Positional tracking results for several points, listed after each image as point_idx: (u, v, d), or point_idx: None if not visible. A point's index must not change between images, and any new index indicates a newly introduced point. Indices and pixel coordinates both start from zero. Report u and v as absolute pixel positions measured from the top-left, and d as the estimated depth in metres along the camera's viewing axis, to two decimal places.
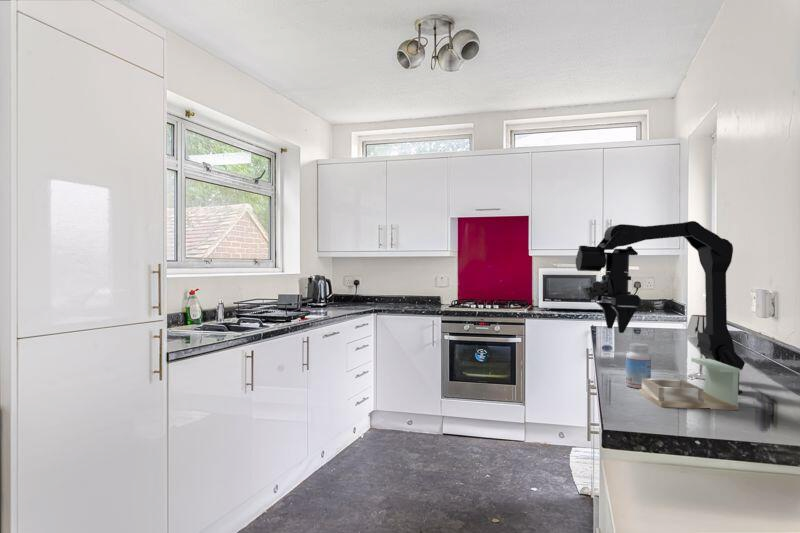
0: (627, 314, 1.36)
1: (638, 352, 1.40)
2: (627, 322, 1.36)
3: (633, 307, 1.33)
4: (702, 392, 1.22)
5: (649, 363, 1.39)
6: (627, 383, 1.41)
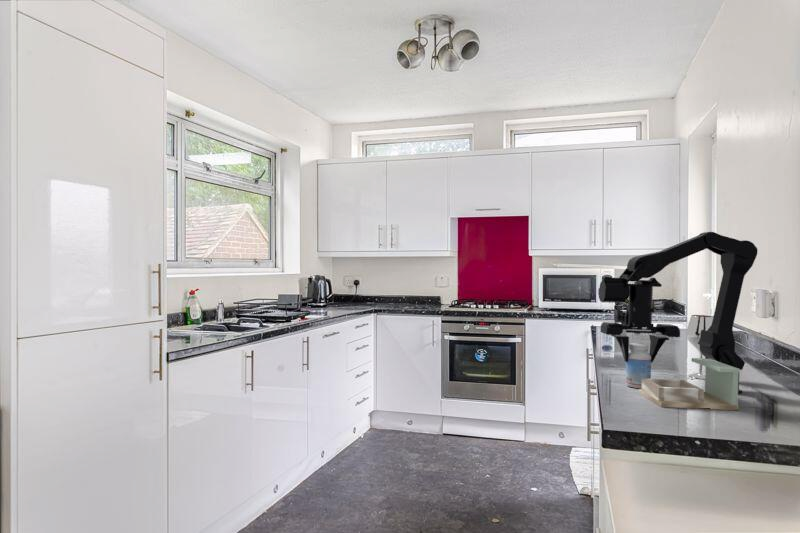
0: None
1: (637, 352, 1.40)
2: (624, 351, 1.40)
3: (616, 336, 1.40)
4: (702, 392, 1.22)
5: (649, 363, 1.39)
6: (627, 383, 1.41)
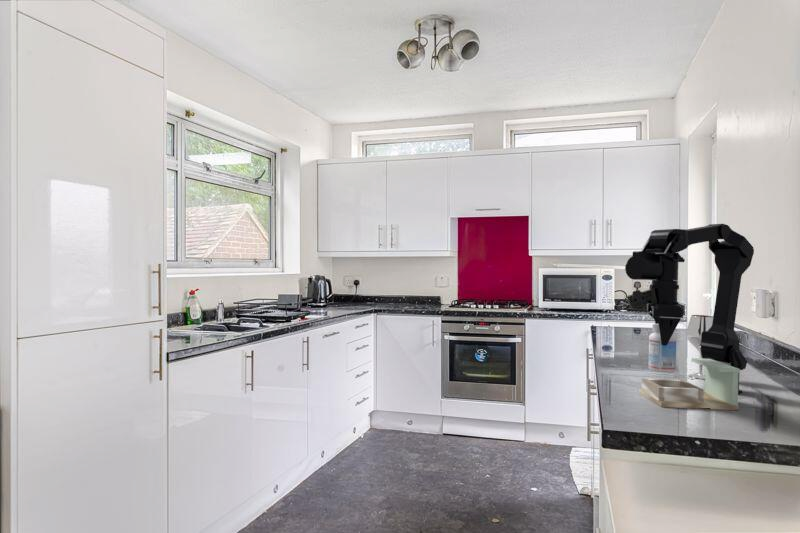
0: (669, 325, 1.26)
1: None
2: (670, 334, 1.26)
3: (674, 318, 1.24)
4: (702, 392, 1.22)
5: None
6: (666, 369, 1.28)
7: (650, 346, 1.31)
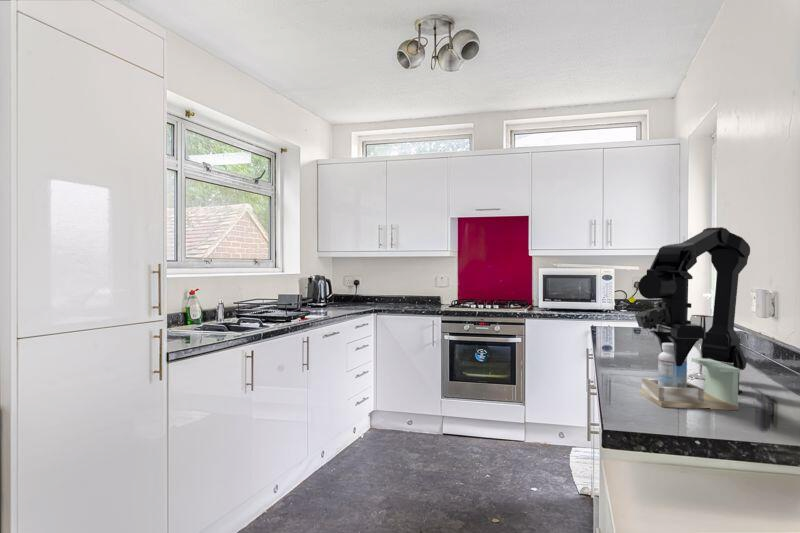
0: (686, 346, 1.23)
1: None
2: (686, 354, 1.23)
3: (694, 338, 1.20)
4: (702, 392, 1.22)
5: None
6: None
7: (662, 367, 1.26)
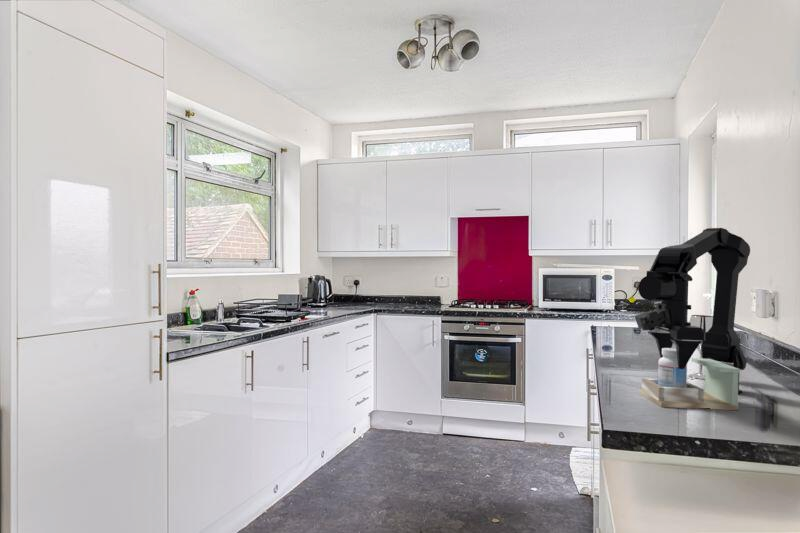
0: (689, 348, 1.21)
1: None
2: (688, 357, 1.21)
3: (696, 341, 1.19)
4: (702, 392, 1.22)
5: None
6: None
7: (662, 372, 1.26)
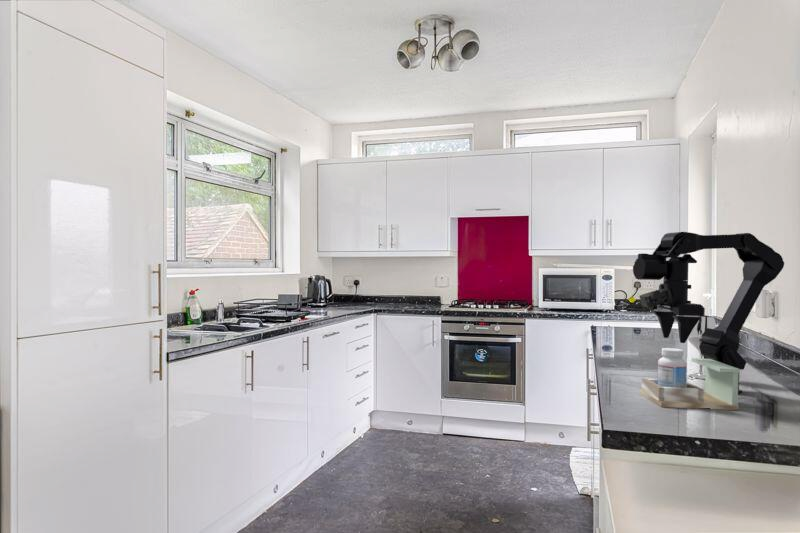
0: (689, 324, 1.32)
1: (681, 357, 1.26)
2: (689, 332, 1.33)
3: (696, 317, 1.30)
4: (702, 392, 1.22)
5: None
6: None
7: (662, 372, 1.26)
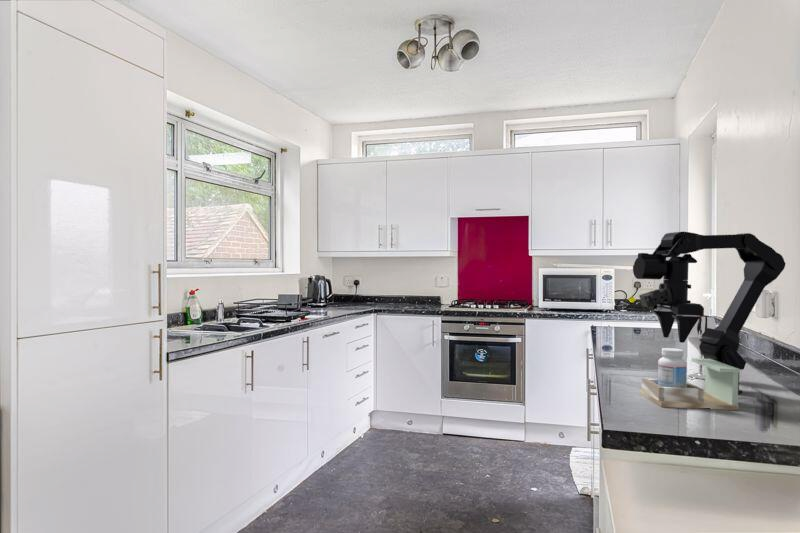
0: (688, 323, 1.33)
1: (681, 357, 1.26)
2: (688, 331, 1.33)
3: (696, 316, 1.31)
4: (702, 392, 1.22)
5: None
6: None
7: (662, 372, 1.26)
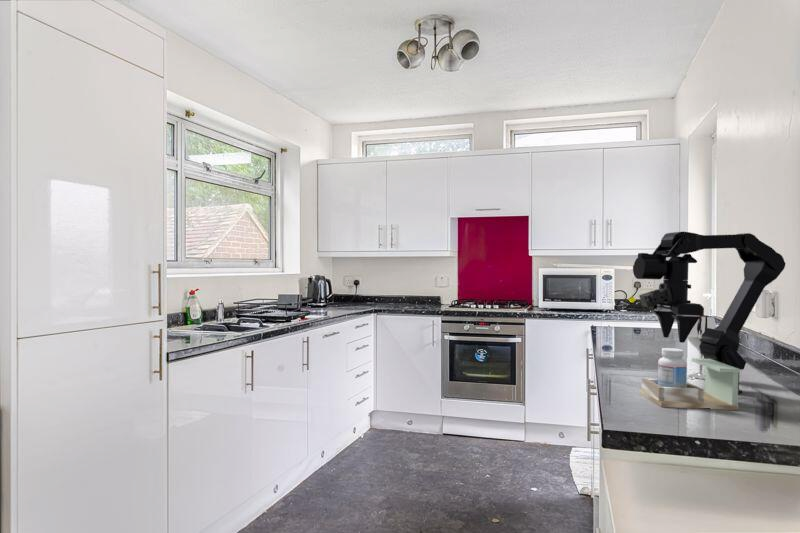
0: (688, 323, 1.33)
1: (681, 357, 1.26)
2: (688, 331, 1.33)
3: (696, 316, 1.31)
4: (702, 392, 1.22)
5: None
6: None
7: (662, 372, 1.26)
